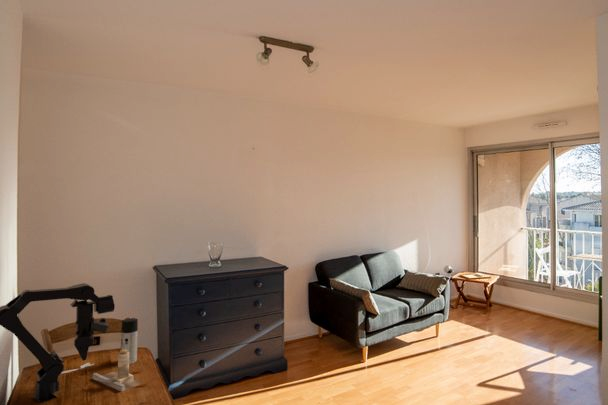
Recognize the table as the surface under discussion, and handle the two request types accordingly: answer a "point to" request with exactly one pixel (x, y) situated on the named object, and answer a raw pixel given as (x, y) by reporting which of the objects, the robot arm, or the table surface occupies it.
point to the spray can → (130, 338)
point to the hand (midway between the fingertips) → (84, 356)
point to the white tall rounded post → (123, 368)
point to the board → (109, 381)
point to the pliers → (77, 369)
